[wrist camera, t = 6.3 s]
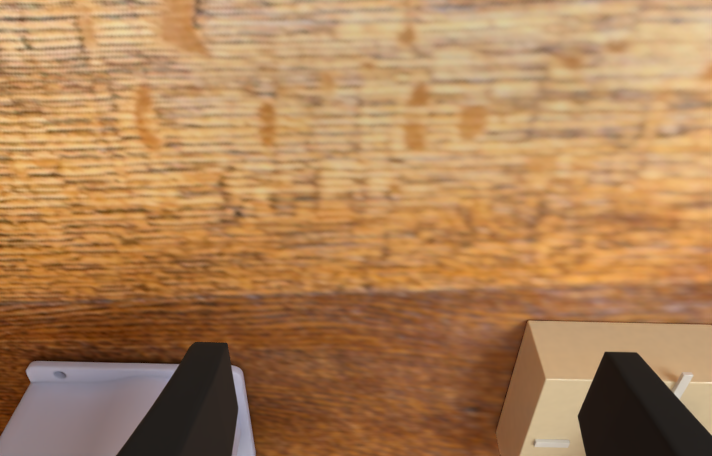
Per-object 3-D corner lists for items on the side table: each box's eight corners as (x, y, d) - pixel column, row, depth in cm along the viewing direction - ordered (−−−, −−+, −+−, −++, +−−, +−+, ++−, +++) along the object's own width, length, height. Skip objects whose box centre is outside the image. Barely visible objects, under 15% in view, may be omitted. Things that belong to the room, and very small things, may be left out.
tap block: (493, 439, 29) (505, 501, 26) (530, 309, 23) (550, 372, 21) (692, 443, 29) (723, 506, 26) (777, 314, 23) (827, 378, 21)
